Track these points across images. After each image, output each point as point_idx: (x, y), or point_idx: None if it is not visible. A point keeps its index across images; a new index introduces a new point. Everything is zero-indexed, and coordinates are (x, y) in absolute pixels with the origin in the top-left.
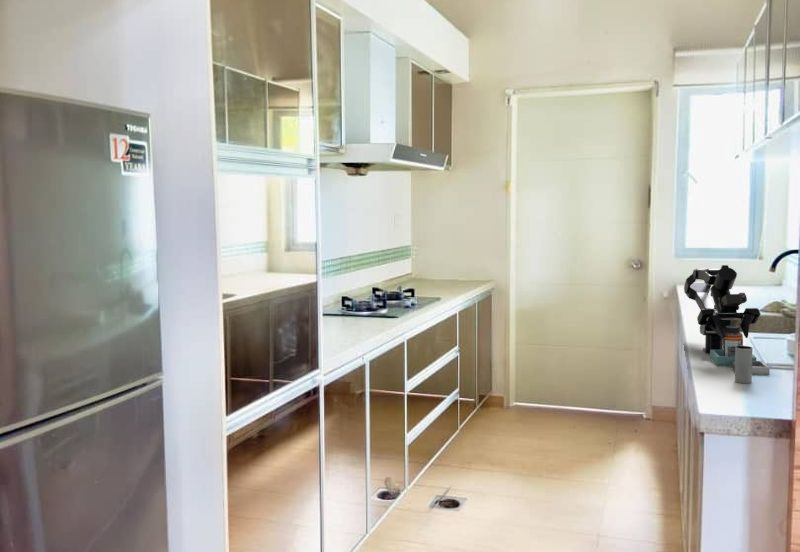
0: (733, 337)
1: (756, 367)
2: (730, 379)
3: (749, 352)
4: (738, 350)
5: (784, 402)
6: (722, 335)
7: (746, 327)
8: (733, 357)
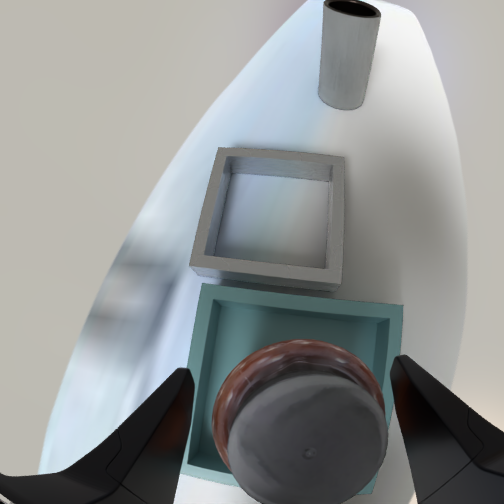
0: (324, 342)
1: (267, 150)
2: (372, 116)
3: (336, 8)
4: (370, 11)
5: (296, 12)
6: (413, 366)
7: (143, 429)
8: (322, 298)
